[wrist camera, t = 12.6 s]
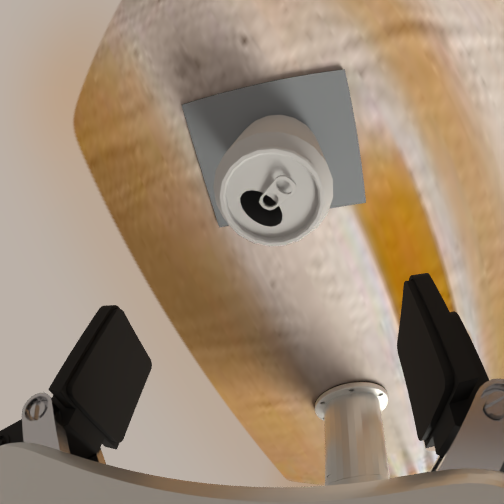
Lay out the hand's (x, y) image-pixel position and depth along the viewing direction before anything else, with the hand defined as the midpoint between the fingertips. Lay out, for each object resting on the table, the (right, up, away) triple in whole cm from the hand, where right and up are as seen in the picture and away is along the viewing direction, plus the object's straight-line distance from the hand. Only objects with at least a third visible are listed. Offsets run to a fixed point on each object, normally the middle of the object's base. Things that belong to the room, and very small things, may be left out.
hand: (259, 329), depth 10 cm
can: (+2, +12, +19) cm, 22 cm away
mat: (+2, +12, +19) cm, 22 cm away
